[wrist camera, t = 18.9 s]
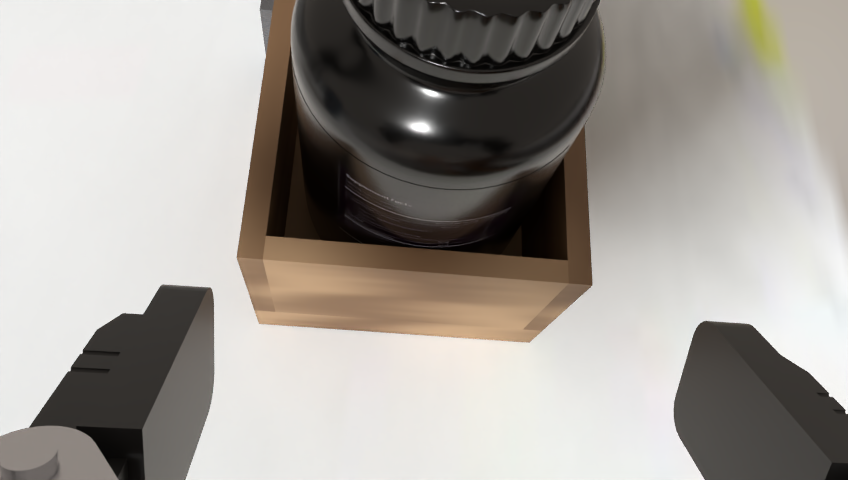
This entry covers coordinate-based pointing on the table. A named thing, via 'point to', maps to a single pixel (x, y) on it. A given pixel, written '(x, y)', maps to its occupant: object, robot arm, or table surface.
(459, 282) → the walnut holder
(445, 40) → the supplement bottle
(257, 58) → the table surface
